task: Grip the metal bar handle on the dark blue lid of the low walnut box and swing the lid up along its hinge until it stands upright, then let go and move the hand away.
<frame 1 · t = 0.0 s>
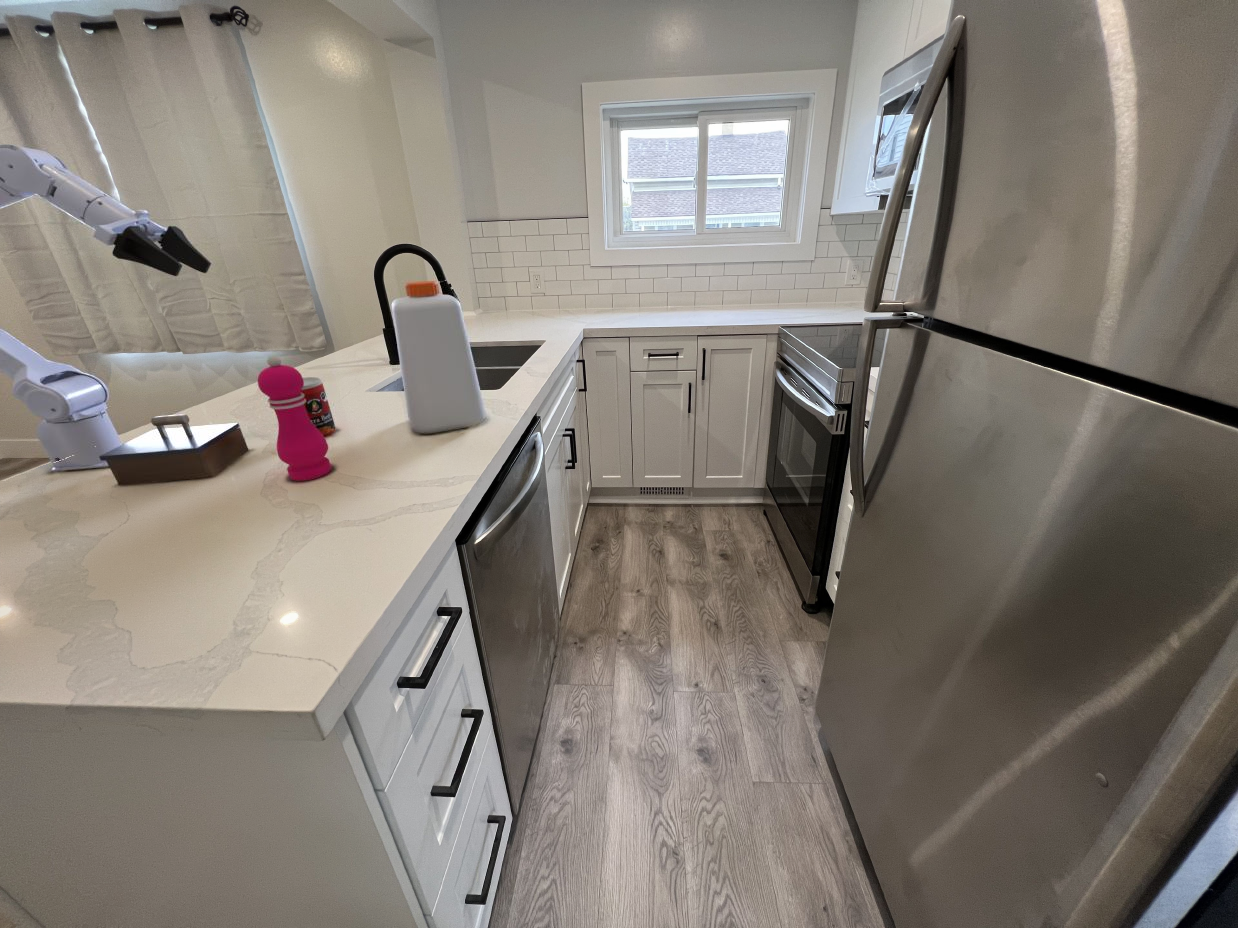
hand: (194, 269, 83), 32 cm above the counter, tool tilted 50°, fingers open, 7 cm apart
lid: (170, 430, 86), point 7 cm above the counter, hinge at 0.0°
plastic bottle: (448, 421, 106), on the counter
pepper mill: (311, 474, 85), on the counter
canned food: (316, 435, 102), on the counter
chest: (188, 466, 89), on the counter
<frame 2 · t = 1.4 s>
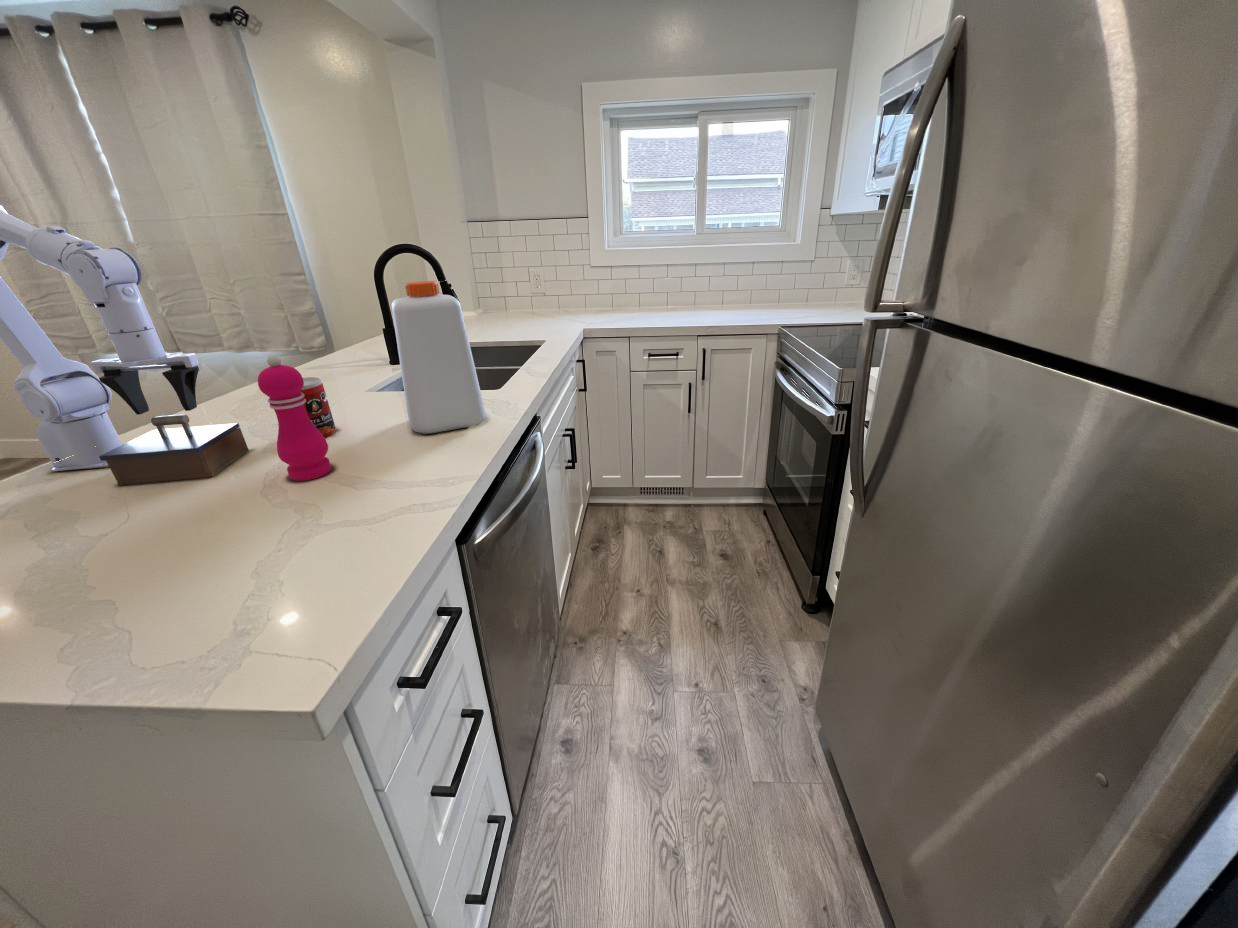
hand: (167, 410, 85), 10 cm above the counter, tool pointing down, fingers open, 7 cm apart
nothing on the counter moved.
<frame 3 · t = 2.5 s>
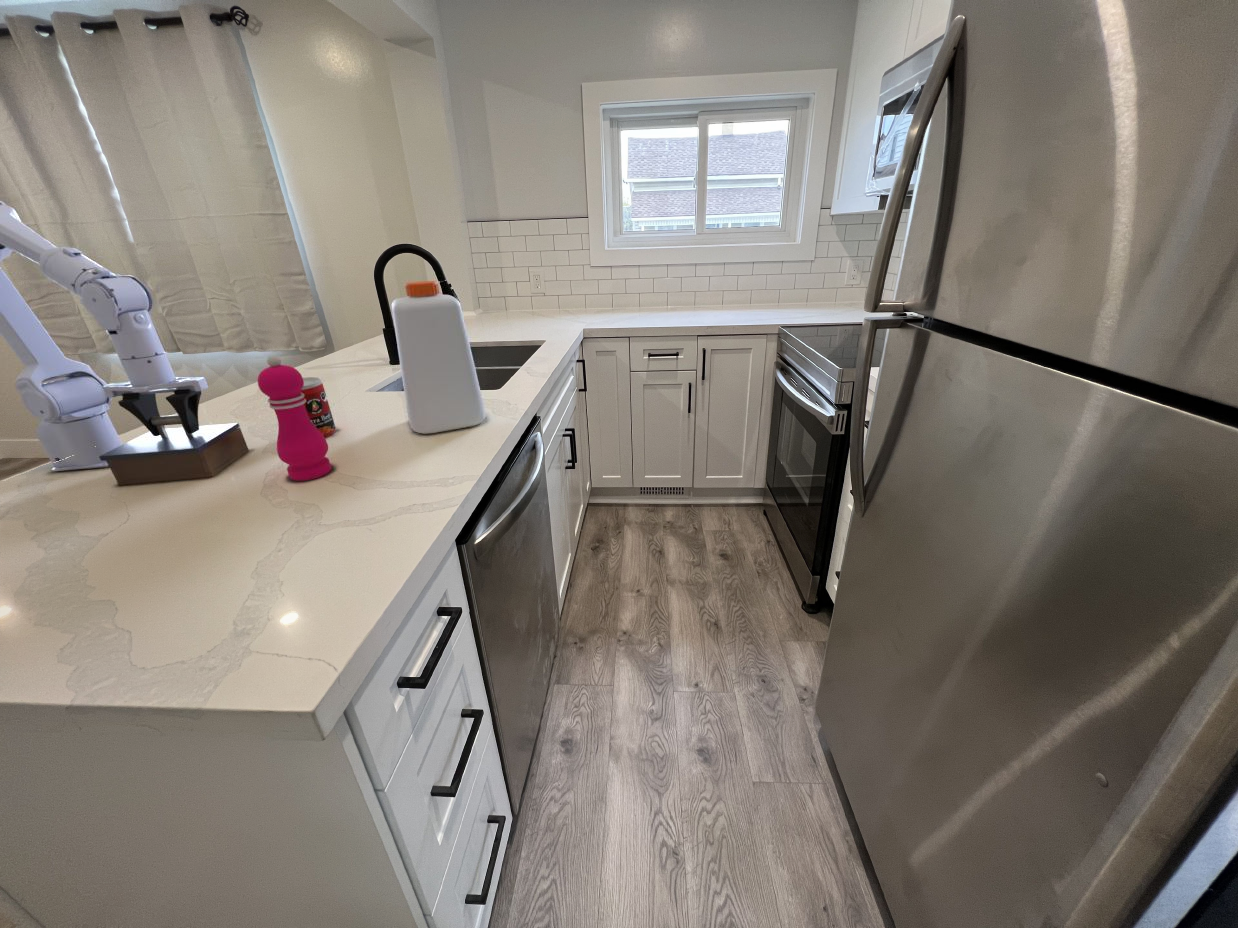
hand: (176, 433, 87), 6 cm above the counter, tool pointing down, fingers closed on lid, 5 cm apart
lid: (170, 430, 86), point 7 cm above the counter, hinge at 0.0°, touching gripper
everything else where it was.
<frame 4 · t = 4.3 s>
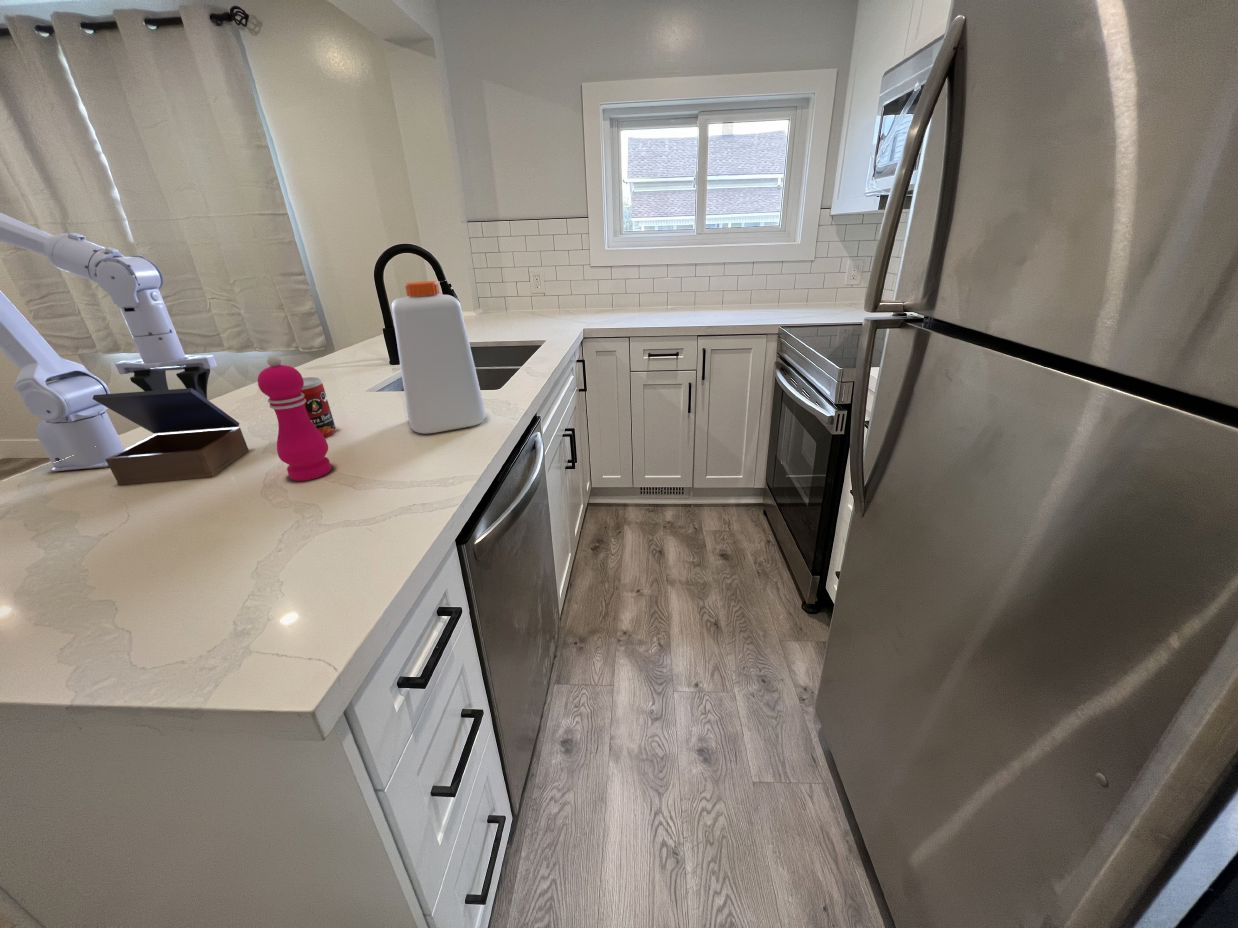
hand: (186, 409, 90), 9 cm above the counter, tool pointing down, fingers closed on lid, 5 cm apart
lid: (173, 402, 87), point 11 cm above the counter, hinge at 47.4°, touching gripper
everything else where it was.
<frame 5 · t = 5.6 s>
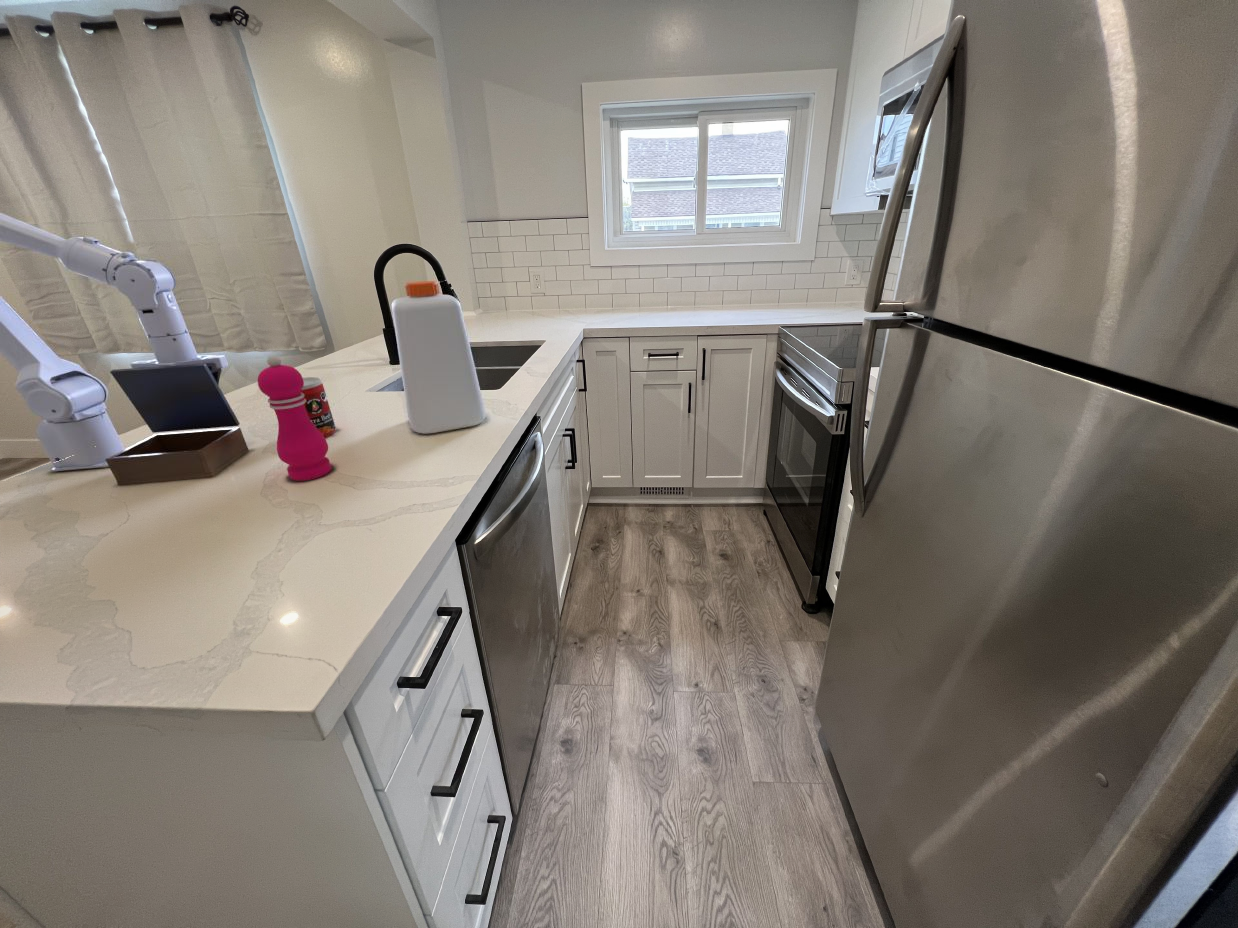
hand: (198, 408, 93), 8 cm above the counter, tool pointing down, fingers closed on lid, 5 cm apart
lid: (184, 393, 90), point 12 cm above the counter, hinge at 76.7°, touching gripper
everything else where it was.
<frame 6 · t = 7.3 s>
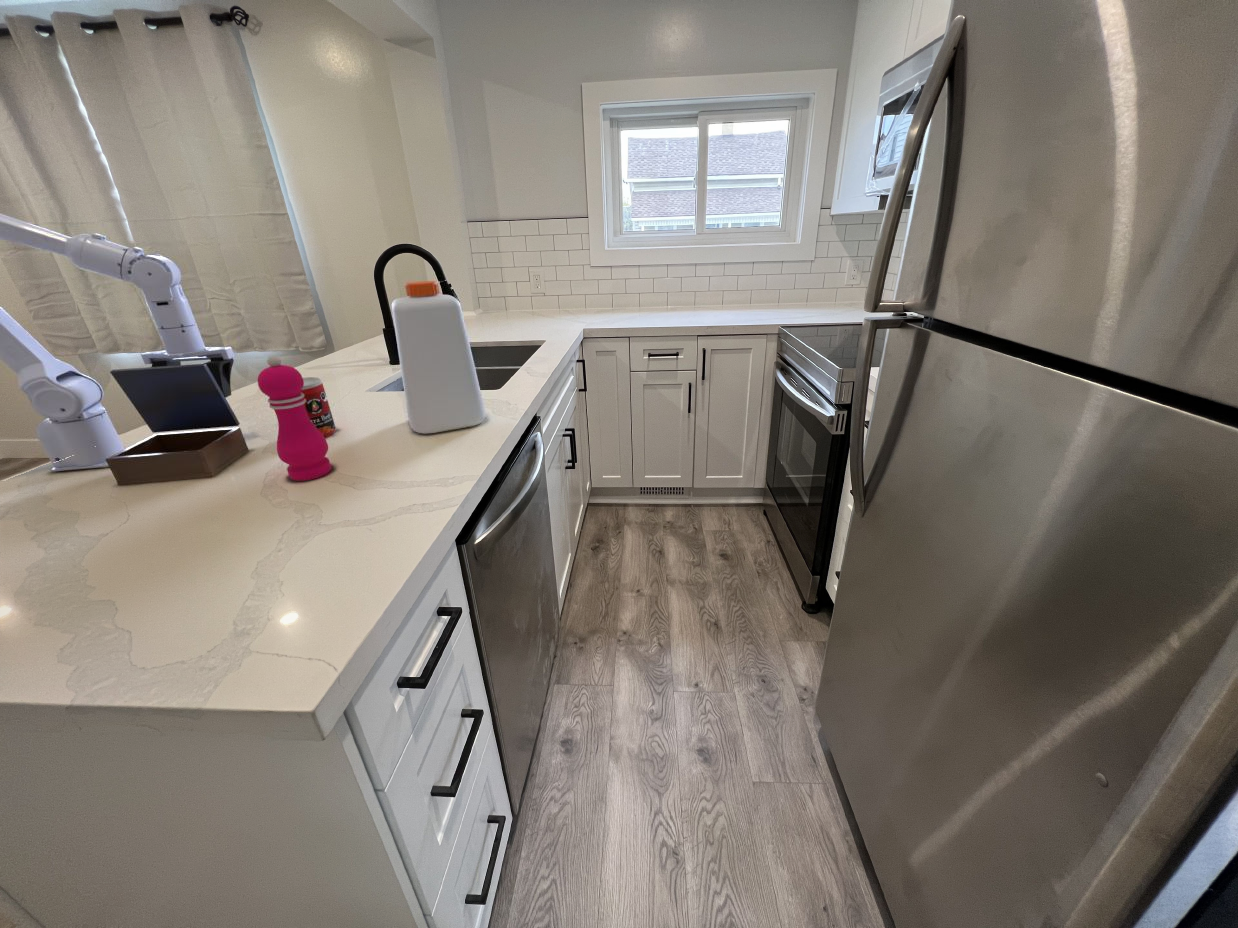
hand: (205, 397, 96), 9 cm above the counter, tool pointing down, fingers open, 7 cm apart
lid: (184, 393, 90), point 12 cm above the counter, hinge at 76.7°
everything else where it was.
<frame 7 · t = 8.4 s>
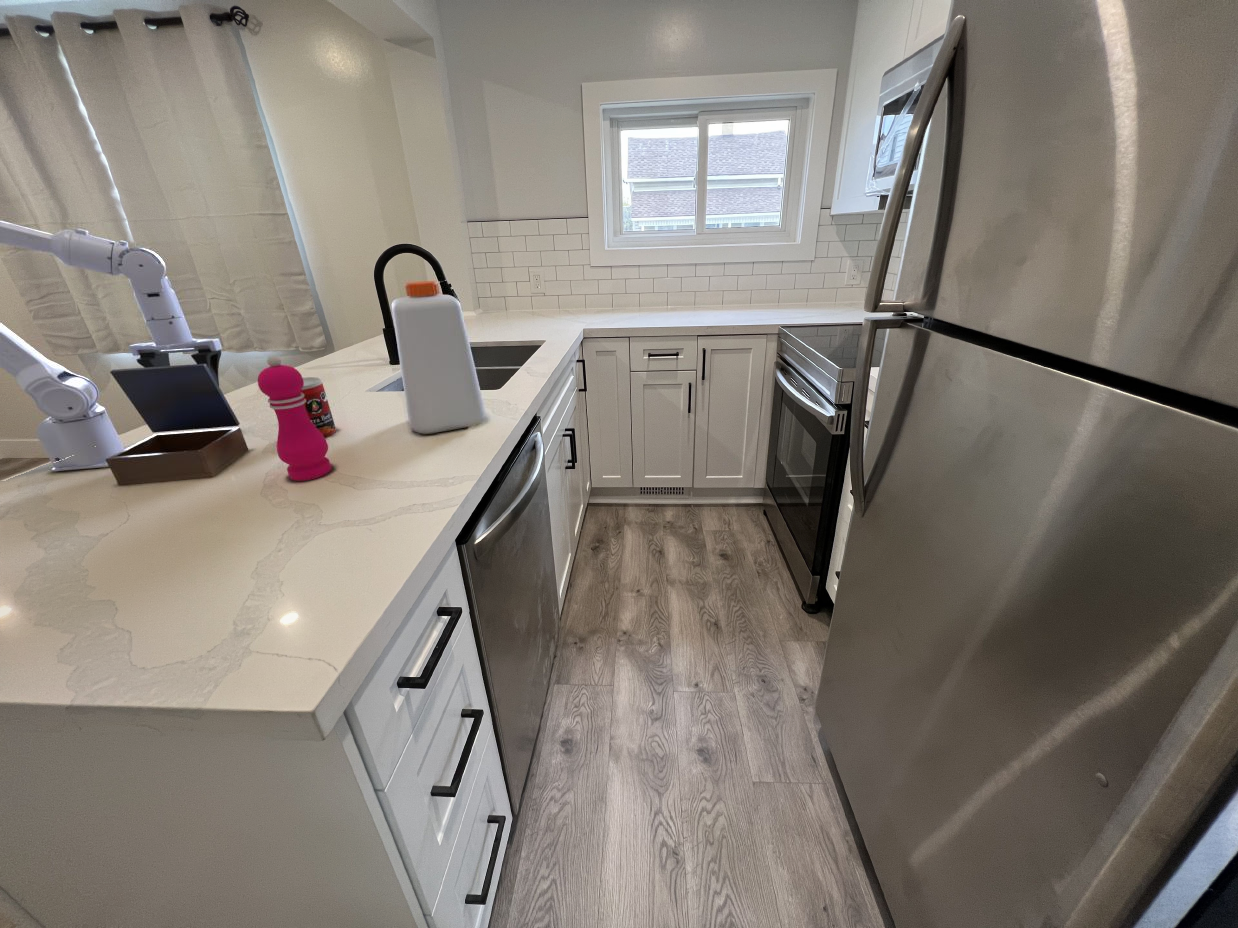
hand: (193, 389, 98), 10 cm above the counter, tool pointing down, fingers open, 7 cm apart
nothing on the counter moved.
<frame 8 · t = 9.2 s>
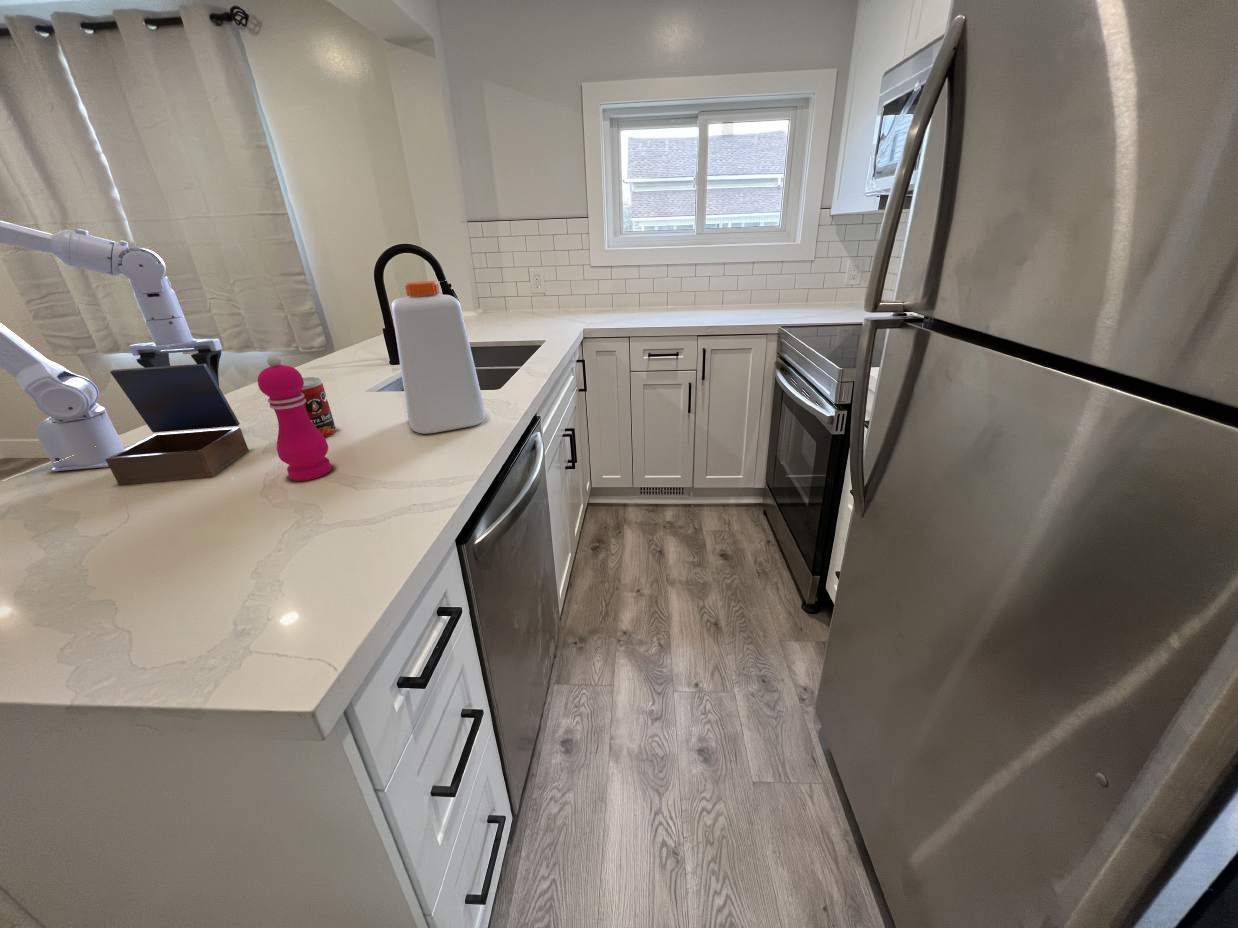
hand: (193, 389, 98), 10 cm above the counter, tool pointing down, fingers open, 7 cm apart
nothing on the counter moved.
at the end: lid at +77° (first picture: +0°) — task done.
